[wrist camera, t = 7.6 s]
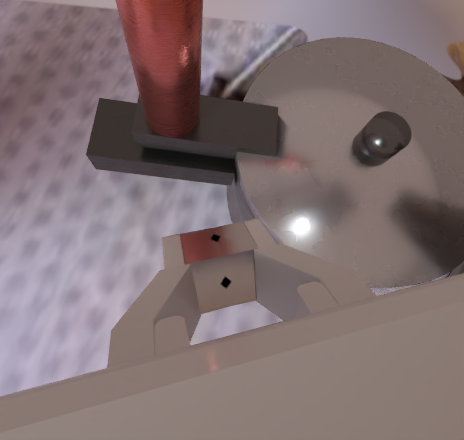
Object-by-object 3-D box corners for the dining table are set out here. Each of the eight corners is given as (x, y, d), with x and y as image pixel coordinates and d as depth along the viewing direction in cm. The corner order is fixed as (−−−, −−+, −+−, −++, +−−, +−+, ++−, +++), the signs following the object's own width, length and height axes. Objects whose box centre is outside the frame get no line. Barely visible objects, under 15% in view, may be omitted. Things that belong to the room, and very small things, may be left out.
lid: (467, 69, 23) (812, -231, 10) (500, 301, 19) (1207, 287, 6) (161, 16, 21) (112, -437, 8) (113, 260, 17) (-167, 94, 4)
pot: (430, 130, 30) (497, 80, 24) (447, 302, 26) (536, 300, 19) (134, 87, 28) (115, 17, 21) (97, 268, 23) (58, 252, 17)
